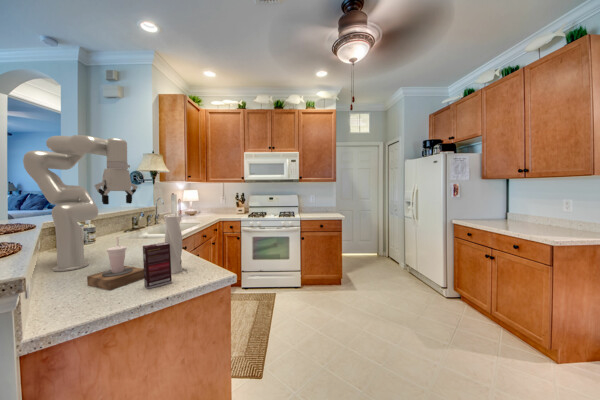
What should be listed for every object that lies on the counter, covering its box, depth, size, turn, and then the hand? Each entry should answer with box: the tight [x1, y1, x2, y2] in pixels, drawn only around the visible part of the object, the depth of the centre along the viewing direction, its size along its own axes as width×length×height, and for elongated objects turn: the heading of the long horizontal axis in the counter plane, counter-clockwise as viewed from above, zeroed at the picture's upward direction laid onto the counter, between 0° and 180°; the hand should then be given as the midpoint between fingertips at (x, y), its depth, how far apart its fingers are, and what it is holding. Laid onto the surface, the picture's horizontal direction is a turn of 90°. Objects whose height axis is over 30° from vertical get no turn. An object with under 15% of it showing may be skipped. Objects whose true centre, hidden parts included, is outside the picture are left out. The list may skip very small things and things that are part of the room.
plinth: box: [86, 265, 144, 291], centre depth 98 cm, size 14×14×4 cm
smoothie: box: [106, 236, 127, 273], centre depth 97 cm, size 6×6×14 cm
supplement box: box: [142, 241, 173, 290], centre depth 93 cm, size 9×5×16 cm, turn 134°
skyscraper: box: [163, 210, 188, 275], centre depth 109 cm, size 8×8×28 cm
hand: (117, 203), depth 110 cm, fingers open, 9 cm apart
